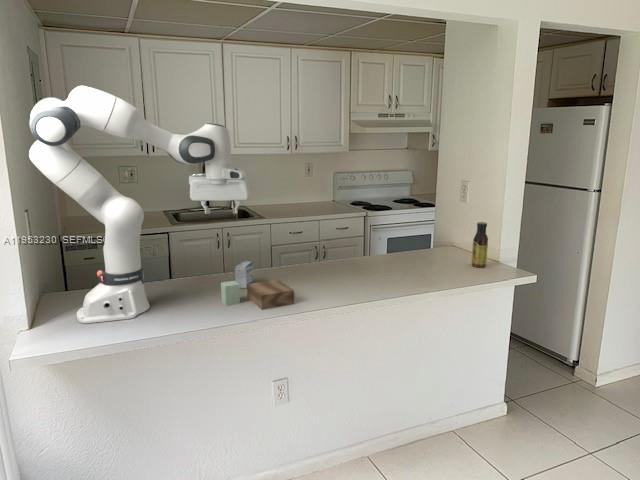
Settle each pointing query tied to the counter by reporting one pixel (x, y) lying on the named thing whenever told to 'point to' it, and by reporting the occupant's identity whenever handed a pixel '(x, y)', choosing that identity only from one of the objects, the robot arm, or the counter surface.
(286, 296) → the walnut block
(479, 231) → the sauce bottle
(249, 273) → the medicine box
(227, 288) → the sage block
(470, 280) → the counter surface
